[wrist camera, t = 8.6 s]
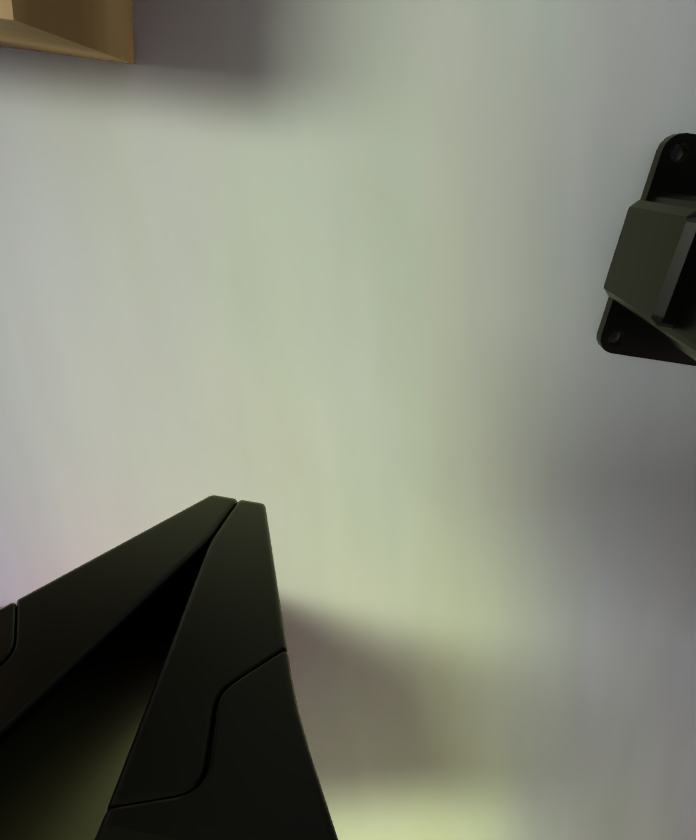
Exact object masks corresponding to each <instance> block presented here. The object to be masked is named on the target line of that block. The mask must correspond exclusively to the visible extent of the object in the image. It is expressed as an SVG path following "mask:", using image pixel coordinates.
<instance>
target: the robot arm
mask: <svg viewBox="0 0 696 840" xmlns="http://www.w3.org/2000/svg"><path fill="white" fill-rule="evenodd" d="M676 144H680V145H681V146H682V147H683V155H682V156H681V158H680V159H679V160H678V161H676V162H674V161H672V159H671V157H670V152H671V150H672V148H673V147H674V146H675V145H676ZM604 289H605V290H606V292H607V294H608V295H609V298H608V301H607V304H606V308H605V311H604V314H603V317H602V320H601V323H600V326H599V329H598V332H597V341H598V344H599V345H600V346H601V347H602V348H603V349H604V350H605V351H607V352H610V353H614V354H620V355H627V356H634V357H640V358H647V359H654V360H660V361H667V362H674V363H680V364H687V365H693V366H696V134H690V133H681V134H673V135H671V136H669V137H667V138H665V139H664V140H663V141H662V142H661V143H660V145H659V147H658V149H657V150H656V153H655V157H654V160H653V163H652V166H651V169H650V172H649V175H648V178H647V181H646V184H645V187H644V190H643V194H642V197H641V200H639V201H637V202H636V203H634V204H633V205H632V206H630V207H629V209H628V212H627V215H626V218H625V222H624V225H623V228H622V231H621V234H620V237H619V240H618V244H617V247H616V250H615V253H614V256H613V259H612V262H611V266H610V269H609V272H608V275H607V278H606V281H605V284H604ZM614 331H620V332H621V333H620V338H619V339H618V340H617V341H615V342H612V343H609V342H608V337H609V336H610V334H611V333H613V332H614ZM0 840H338V838H337V835H336V832H335V829H334V826H333V823H332V820H331V816H330V813H329V810H328V807H327V804H326V801H325V798H324V795H323V792H322V789H321V785H320V782H319V779H318V776H317V773H316V770H315V767H314V764H313V761H312V757H311V754H310V751H309V748H308V744H307V741H306V737H305V734H304V730H303V726H302V723H301V719H300V715H299V712H298V707H297V702H296V697H295V692H294V687H293V682H292V677H291V670H290V664H289V657H288V654H287V646H286V639H285V633H284V626H283V619H282V613H281V606H280V600H279V593H278V587H277V580H276V573H275V567H274V560H273V554H272V547H271V540H270V534H269V527H268V521H267V514H266V508H265V505H264V504H262V503H256V502H250V501H244V500H241V501H239V502H237V500H236V499H233V498H227V497H221V496H215V495H213V496H209V497H207V498H206V499H204V500H202V501H200V502H198V503H196V504H194V505H193V506H191V507H189V508H187V509H185V510H183V511H181V512H180V513H178V514H176V515H174V516H172V517H170V518H169V519H167V520H165V521H163V522H161V523H159V524H157V525H156V526H154V527H152V528H150V529H148V530H146V531H144V532H143V533H141V534H139V535H137V536H135V537H133V538H132V539H130V540H128V541H126V542H124V543H122V544H120V545H119V546H117V547H115V548H113V549H111V550H109V551H107V552H106V553H104V554H102V555H100V556H98V557H96V558H95V559H93V560H91V561H89V562H87V563H85V564H83V565H82V566H80V567H78V568H76V569H74V570H72V571H70V572H69V573H67V574H65V575H63V576H61V577H59V578H58V579H56V580H54V581H52V582H50V583H48V584H46V585H45V586H43V587H41V588H39V589H37V590H35V591H33V592H32V593H30V594H28V595H26V596H24V597H22V598H21V599H19V600H18V601H17V605H16V604H15V603H11V604H9V605H7V606H5V607H3V608H2V609H0Z"/></svg>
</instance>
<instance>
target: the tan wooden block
mask: <svg viewBox="0 0 696 840" xmlns="http://www.w3.org/2000/svg"><path fill="white" fill-rule="evenodd" d="M0 46H2V47H9V48H17V49H24V50H32V51H40V52H47V53H55V54H62V55H70V56H77V57H85V58H92V59H100V60H107V61H115V62H122V63H130V64H135V60H134V28H133V0H0Z"/></svg>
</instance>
